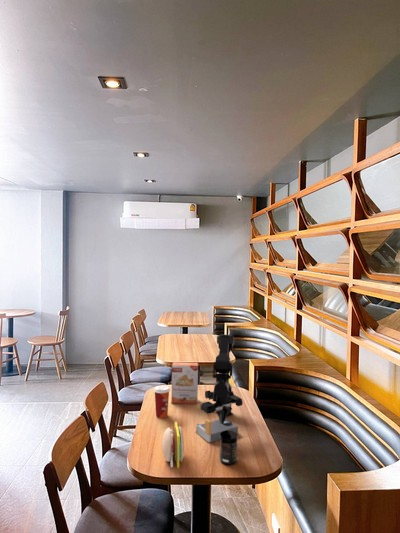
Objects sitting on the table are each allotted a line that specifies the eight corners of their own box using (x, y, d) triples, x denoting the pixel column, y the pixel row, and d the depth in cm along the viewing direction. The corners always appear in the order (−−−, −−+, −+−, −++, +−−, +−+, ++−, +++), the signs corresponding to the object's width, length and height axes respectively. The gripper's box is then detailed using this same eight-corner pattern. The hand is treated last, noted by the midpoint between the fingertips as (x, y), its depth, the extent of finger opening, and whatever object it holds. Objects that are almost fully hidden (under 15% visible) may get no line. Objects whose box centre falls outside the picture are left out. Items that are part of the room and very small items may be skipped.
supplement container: (239, 458, 144) (239, 432, 144) (234, 467, 138) (235, 440, 137) (222, 454, 146) (222, 429, 146) (217, 464, 140) (217, 437, 140)
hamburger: (161, 451, 148) (161, 422, 148) (181, 450, 149) (182, 421, 149) (163, 469, 136) (163, 437, 136) (185, 467, 138) (185, 435, 137)
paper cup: (167, 419, 177) (167, 391, 176) (151, 418, 178) (152, 389, 178) (171, 412, 184) (171, 385, 184) (156, 411, 186) (157, 384, 185)
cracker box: (171, 403, 195) (171, 365, 195) (172, 399, 201) (172, 361, 201) (197, 404, 195) (198, 365, 194) (197, 399, 201) (198, 362, 201)
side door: (198, 431, 165) (198, 412, 165) (211, 442, 156) (211, 421, 156) (195, 432, 164) (196, 412, 164) (208, 443, 155) (208, 422, 155)
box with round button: (224, 425, 172) (224, 416, 172) (237, 434, 163) (237, 425, 163) (199, 432, 164) (199, 423, 164) (211, 442, 156) (211, 432, 156)
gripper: (228, 379, 172) (228, 411, 172) (194, 386, 162) (194, 420, 163) (243, 386, 162) (243, 421, 163) (208, 394, 153) (207, 431, 153)
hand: (221, 423), depth 161 cm, fingers closed
